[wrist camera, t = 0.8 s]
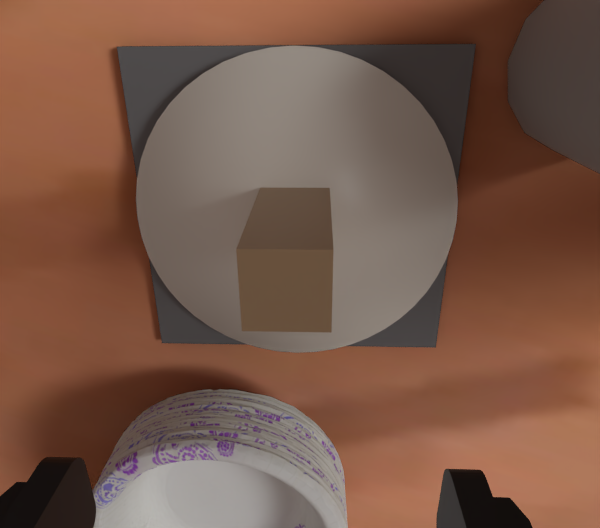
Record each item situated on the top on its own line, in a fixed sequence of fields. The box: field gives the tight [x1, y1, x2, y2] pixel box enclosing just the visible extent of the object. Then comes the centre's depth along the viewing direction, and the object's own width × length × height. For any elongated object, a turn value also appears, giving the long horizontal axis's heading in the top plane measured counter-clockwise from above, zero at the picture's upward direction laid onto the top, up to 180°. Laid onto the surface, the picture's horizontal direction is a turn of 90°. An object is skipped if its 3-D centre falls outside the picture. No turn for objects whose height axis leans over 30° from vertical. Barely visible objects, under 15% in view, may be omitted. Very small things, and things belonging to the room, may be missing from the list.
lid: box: [136, 45, 458, 353], centre depth 23 cm, size 17×17×9 cm
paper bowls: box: [92, 389, 348, 528], centre depth 31 cm, size 15×15×8 cm
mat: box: [117, 44, 476, 347], centre depth 27 cm, size 17×17×1 cm
